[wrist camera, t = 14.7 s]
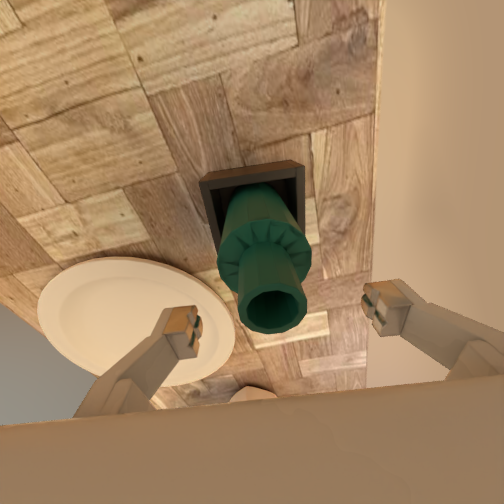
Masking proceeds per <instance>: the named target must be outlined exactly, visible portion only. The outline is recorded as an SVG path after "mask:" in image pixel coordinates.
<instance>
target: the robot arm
mask: <svg viewBox="0 0 504 504" xmlns="http://www.w3.org/2000/svg"><path fill="white" fill-rule="evenodd" d="M363 291H364V292H365V294H364V295H363V296H362V298H361V305H362V309H363V312H364V313H365V315H366V317H368V318H370V319H371V320H373V321H372V325H373V327H374V328H375V330H376V331H377V333H378V334H379V336H380V337H385V336H395V335H396V336H397V335H400V336H401V337H402V338H404V339H405V340H407V341H408V342H410V343H411V344H412V345H414V346H415V347H417V348H418V349H420V350H421V351H423V352H424V353H426V354H427V355H429V356H430V357H432V358H433V359H434V360H436V361H437V362H439V363H440V364H442V365H443V366H445V367H446V368H448V369H449V370H450V371H449V373H448V375H447V376H446V378H445V380H443V381H433V382H424V383H414V384H404V385H395V386H385V387H375V388H365V389H355V390H345V391H335V392H325V393H316V394H306V395H296V396H286V397H277V398H267V399H257V400H248V401H238V402H228V403H218V404H209V405H199V406H189V407H179V408H170V409H160V410H156V408H155V407H154V406H153V405H152V403H151V402H150V401H149V400H150V399H151V398H152V396H153V395H154V394H155V392H156V391H157V390H158V388H159V387H160V386H161V384H162V383H163V382H164V381H165V379H166V378H167V377H168V375H169V374H170V373H171V371H172V370H173V369H174V367H175V366H176V365H177V363H178V362H179V360H184V359H191V358H197V355H198V351H199V346H200V344H199V341H198V340H199V339H200V338H201V336H202V332H203V323H202V319H201V317H200V316H199V315H197V313H198V309H197V306H196V305H189V306H179V307H172V308H165V309H163V310H162V312H161V314H160V317H159V319H158V321H157V323H156V325H155V327H154V329H153V331H152V333H151V335H150V336H149V337H146V338H145V339H144V340H142V341H141V342H140V343H139V344H138V345H137V346H135V347H134V348H133V349H132V350H131V351H130V352H128V353H127V354H126V355H125V356H124V357H123V358H121V359H120V360H119V361H118V362H117V363H116V364H114V365H113V366H112V367H111V368H110V369H109V370H107V371H106V372H105V373H104V374H103V375H102V376H100V377H99V378H98V379H97V380H96V381H95V382H94V384H93V385H92V387H91V388H90V390H89V392H88V393H87V395H86V397H85V398H84V400H83V401H82V403H81V405H80V406H79V408H78V409H77V411H76V413H75V414H74V416H73V418H71V419H61V420H51V421H42V422H32V423H22V424H13V425H2V426H0V504H504V332H501V331H499V330H496V329H494V328H492V327H489V326H487V325H484V324H482V323H479V322H477V321H475V320H472V319H470V318H467V317H464V316H462V315H460V314H457V313H455V312H452V311H450V310H448V309H445V308H443V307H440V306H438V305H435V304H433V303H427V302H426V301H425V300H424V299H422V298H421V297H420V296H419V295H418V294H417V293H416V292H414V290H412V289H411V288H410V287H409V286H408V285H407V284H406V283H405V282H404V281H402V280H400V279H394V280H388V281H381V282H373V283H365V285H364V287H363Z"/></svg>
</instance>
